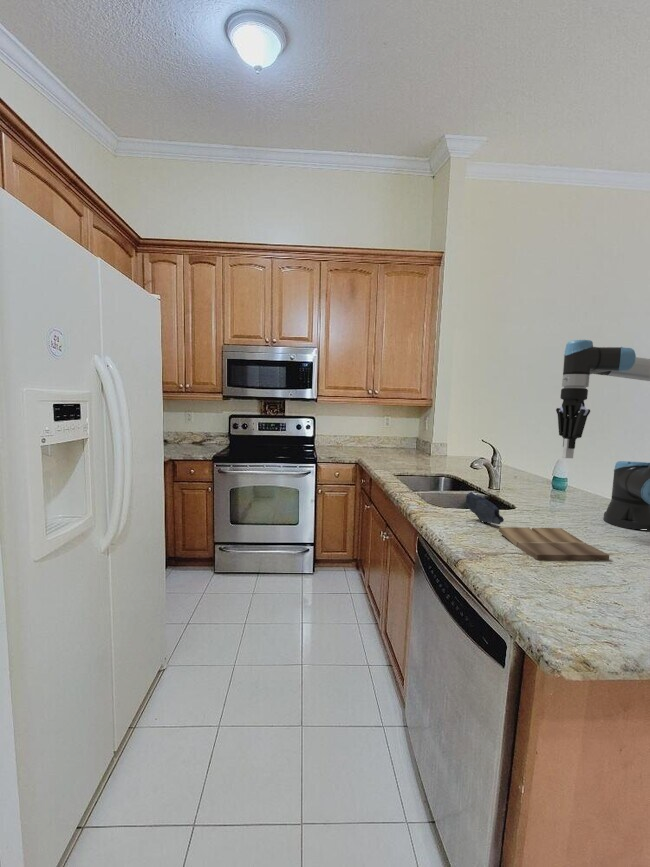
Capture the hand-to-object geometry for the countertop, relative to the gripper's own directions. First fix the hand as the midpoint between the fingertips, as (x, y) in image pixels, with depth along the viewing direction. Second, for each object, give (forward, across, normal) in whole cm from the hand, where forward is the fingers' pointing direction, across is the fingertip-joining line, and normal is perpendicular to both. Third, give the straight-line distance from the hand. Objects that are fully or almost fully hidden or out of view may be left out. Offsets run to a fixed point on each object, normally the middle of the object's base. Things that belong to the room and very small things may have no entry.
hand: (567, 457), depth 129 cm
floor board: (+24, +22, -16) cm, 37 cm away
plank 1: (+24, +12, -22) cm, 34 cm away
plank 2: (+24, +12, -10) cm, 29 cm away
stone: (+25, -4, -26) cm, 36 cm away
